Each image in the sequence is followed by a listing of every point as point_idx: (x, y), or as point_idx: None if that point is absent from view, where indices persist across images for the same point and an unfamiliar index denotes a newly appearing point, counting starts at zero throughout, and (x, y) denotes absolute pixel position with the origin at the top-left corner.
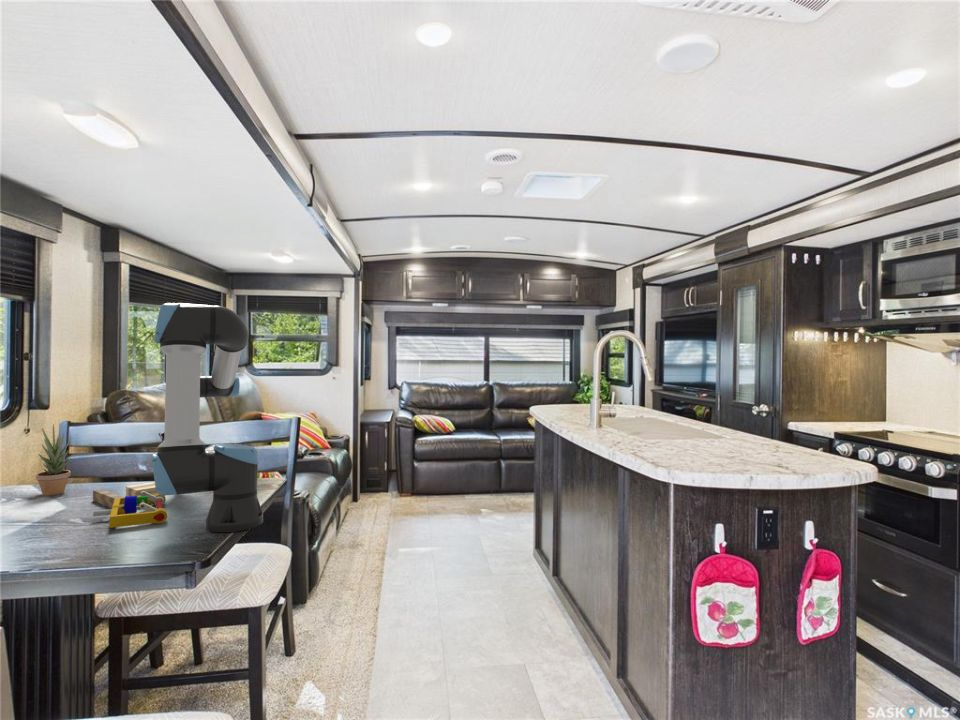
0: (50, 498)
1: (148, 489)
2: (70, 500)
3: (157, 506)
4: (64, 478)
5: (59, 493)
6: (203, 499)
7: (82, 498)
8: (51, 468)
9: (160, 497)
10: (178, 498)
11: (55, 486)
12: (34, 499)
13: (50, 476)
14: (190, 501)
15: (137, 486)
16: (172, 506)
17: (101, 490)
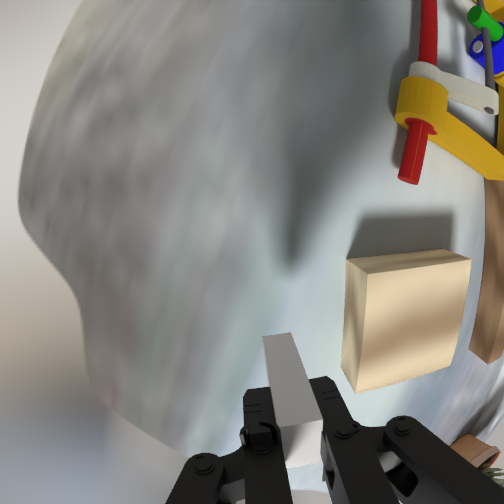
0: (485, 409)
1: (432, 264)
2: (489, 374)
3: (436, 5)
4: (472, 459)
5: (458, 440)
6: (234, 61)
7: (473, 383)
8: (494, 470)
9: (431, 69)
10: (317, 164)
11: (475, 443)
12: (494, 410)
13: (496, 450)
14: (294, 67)
15: (436, 339)
16: (374, 53)
17: (498, 342)
